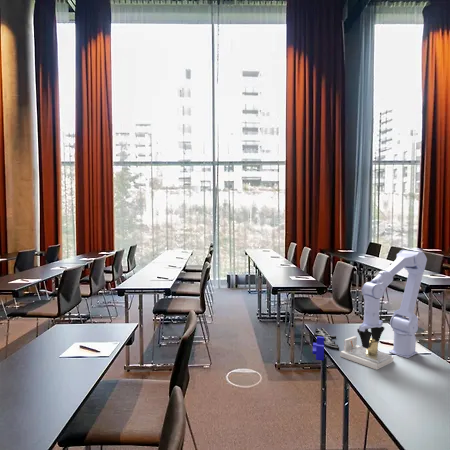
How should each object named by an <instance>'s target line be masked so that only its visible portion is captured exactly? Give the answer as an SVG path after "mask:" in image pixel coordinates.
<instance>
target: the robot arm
mask: <svg viewBox="0 0 450 450" xmlns="http://www.w3.org/2000/svg"><path fill="white" fill-rule="evenodd" d="M427 261H428V258H427V256H426V254H425V252H423V251H415V250H407V249H401V250H399V252H398V253H396V258H395V260H394V261H393V262H392V263H391V264H390V266H388V268H387V269H386V270H380V271H379V272H378V274H377V275H376V276H374V277H373V279H371V280H370V281H367V282H365V283H364V284H363V285H362V287H361V293H362V296H363V299H364V304H363V305H364V307H363V308H364V309H363V310H364V311H363V322H362V323H361V324H360V325H359V327H358V328H357V334H358V335H359V337H360V343H361V346H363V347H364V348H368V347H369V341H370V338H374V339H375V340H376V341H378V344H379V342H380V340H381V336H382V334H383V332H384V330H385V326H383V324H384V323H383V322H384V321H383V320H381V319H380V307H381V299H380V298H382V297H383V296H384V294H385V291H386V288H387V287H388V286H390V284H391V283H393V281H394V276H395V275H397V274H398V273H399V272H400V271H402V270H403V269H405V270H406V271H407V273H408V276H407V278H406V283H405V285H404V286H405V288H404V290H403V291H404V292H403V295H402V299H401V303H400V307H399V308H398V309H396V310H394V311H393V314H392V316H391V318H390V321H389V324H390V328H392V331H393V349H391V350H389V353H390V354H393V355H396V356H400V357H402V358H406V359H409V358H410V357H412V356H415V355H417V354H418V353H419V352H418V351H416V344H417V337H416V333H417V332H418V329H419V318H418V316H417V315H416V314H415V312H414V311H415V308H416V303H417V299H418V296H419V292H420V288H421V284H422V280H423V276H424V273H425V269H426V266H427ZM369 330H370V331H369Z"/></svg>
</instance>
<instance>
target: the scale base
mask: <svg viewBox="0 0 450 450" xmlns="http://www.w3.org/2000/svg"><path fill="white" fill-rule="evenodd" d="M357 343H358V336H356V335H353V336H351V337H347V338H346V339H344V340H343V350H341V351H340V352H339V357H340V358H343V359H346V360H349V361H351V362H354V363H356V364H359V365H362V366H365V367H368V368H371V369H374V370H379V369H382V368H383V367H385V366H388V365H390V364H392V363H393V362H394V356H392V357H391V358H389V359H387V360H385V361H383V362H381V363H377V362H374V361H371V360H368V359H365V358H362V357H359V356H356V355H354V354H351V353H349V351H350V350H353V349H355V348H358V347H360V346H361V345H359V344H357Z"/></svg>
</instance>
